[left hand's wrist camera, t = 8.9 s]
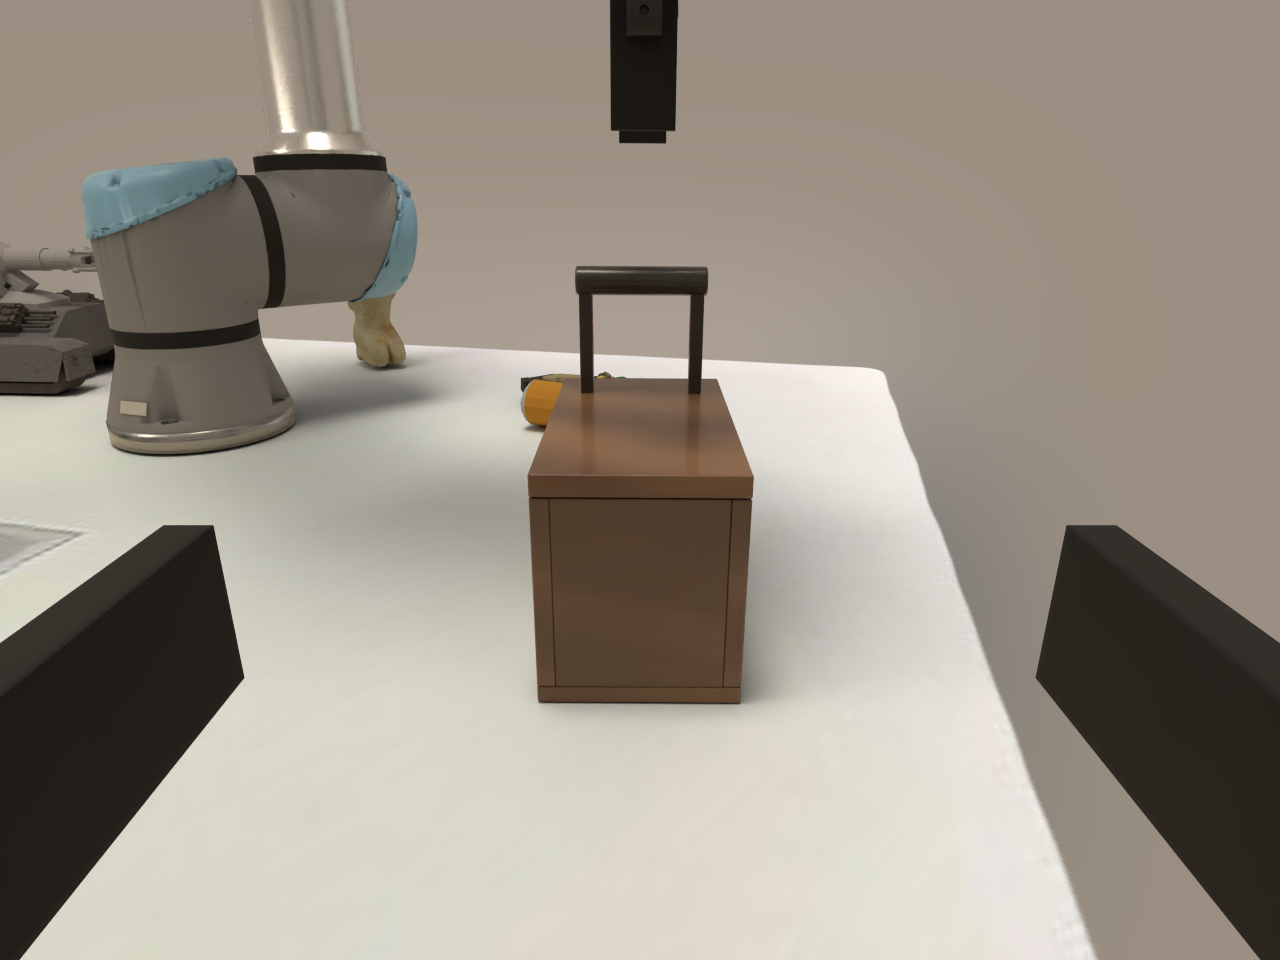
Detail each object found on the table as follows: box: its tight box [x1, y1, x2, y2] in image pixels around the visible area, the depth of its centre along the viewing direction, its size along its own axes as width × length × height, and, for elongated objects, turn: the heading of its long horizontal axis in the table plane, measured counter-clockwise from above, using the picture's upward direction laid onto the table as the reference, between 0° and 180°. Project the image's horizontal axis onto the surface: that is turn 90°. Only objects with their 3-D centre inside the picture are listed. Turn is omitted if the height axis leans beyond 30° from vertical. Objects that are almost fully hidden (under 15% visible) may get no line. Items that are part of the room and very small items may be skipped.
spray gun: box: [521, 372, 626, 426], centre depth 80 cm, size 4×17×15 cm
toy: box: [0, 242, 115, 394], centre depth 92 cm, size 25×20×15 cm
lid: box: [528, 266, 754, 498], centre depth 39 cm, size 17×9×8 cm, turn 0°
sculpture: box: [348, 292, 406, 367], centre depth 98 cm, size 6×7×15 cm
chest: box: [529, 497, 752, 703], centre depth 42 cm, size 16×9×10 cm, turn 0°
